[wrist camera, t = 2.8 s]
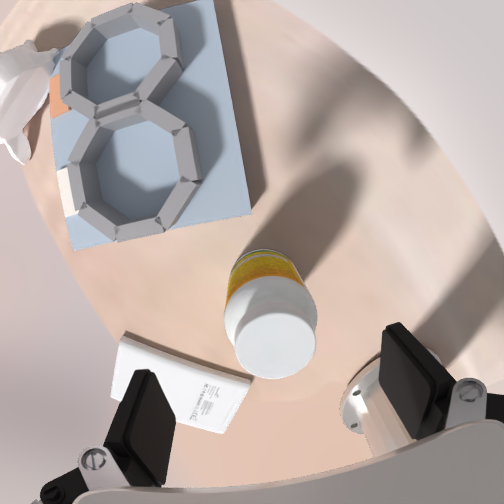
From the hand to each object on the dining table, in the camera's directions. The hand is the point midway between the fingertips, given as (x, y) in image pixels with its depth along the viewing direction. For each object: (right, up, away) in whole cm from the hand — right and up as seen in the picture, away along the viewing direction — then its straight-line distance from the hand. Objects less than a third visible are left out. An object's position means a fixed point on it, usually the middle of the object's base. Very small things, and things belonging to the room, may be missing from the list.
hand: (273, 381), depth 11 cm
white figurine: (-23, +17, +8) cm, 30 cm away
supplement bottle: (0, +3, +12) cm, 13 cm away
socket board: (-9, +15, +9) cm, 19 cm away
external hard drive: (-8, -8, +16) cm, 19 cm away
